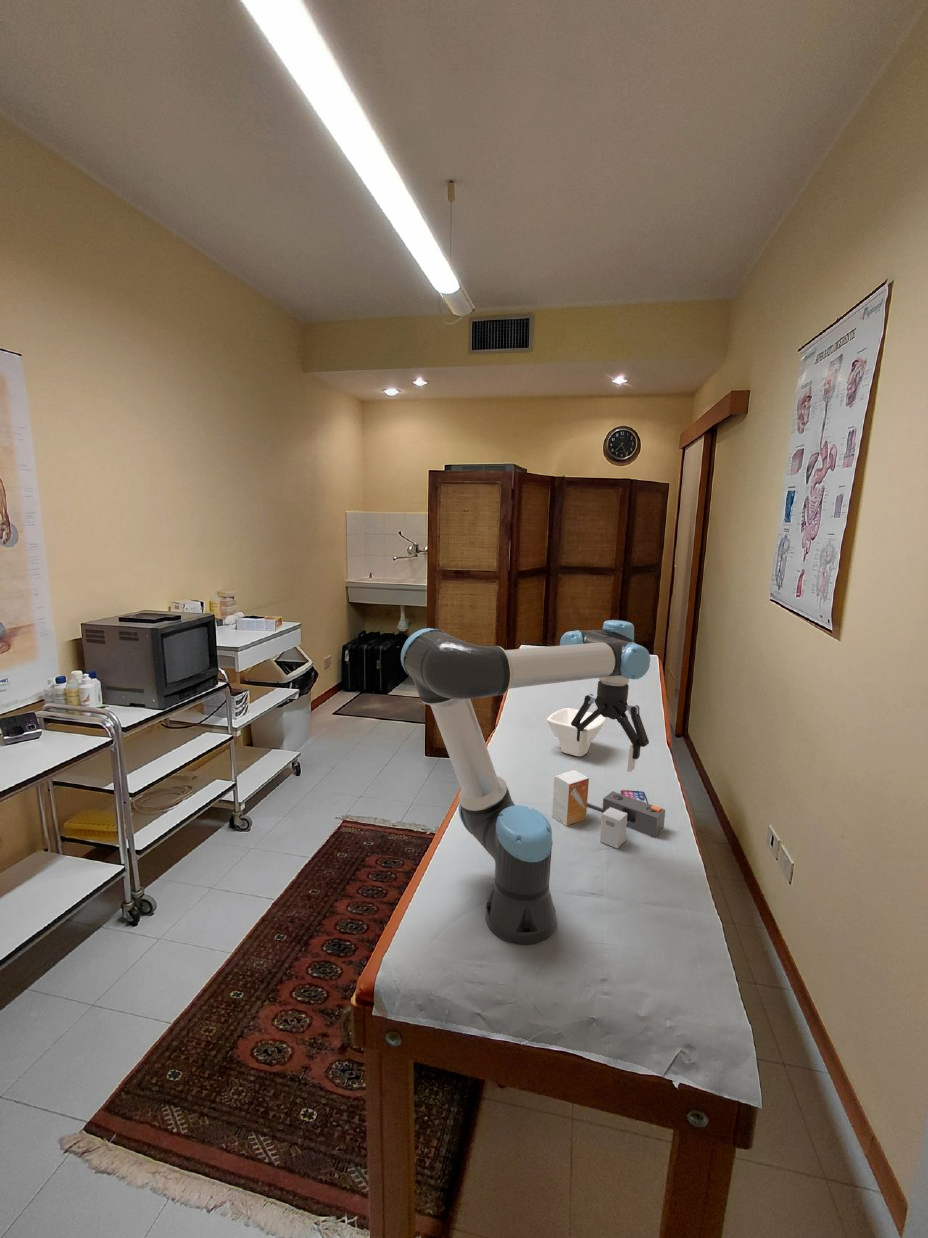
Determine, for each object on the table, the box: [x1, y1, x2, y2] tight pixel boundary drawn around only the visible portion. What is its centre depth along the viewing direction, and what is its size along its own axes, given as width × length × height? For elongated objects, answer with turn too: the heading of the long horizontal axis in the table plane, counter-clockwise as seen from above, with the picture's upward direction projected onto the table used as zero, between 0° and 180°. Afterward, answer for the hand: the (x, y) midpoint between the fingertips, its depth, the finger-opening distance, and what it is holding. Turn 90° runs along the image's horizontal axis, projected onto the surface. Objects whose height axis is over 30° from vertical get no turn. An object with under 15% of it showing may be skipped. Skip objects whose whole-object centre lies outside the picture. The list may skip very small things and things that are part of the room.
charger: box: [599, 807, 627, 849], centre depth 148 cm, size 9×5×8 cm, turn 140°
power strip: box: [587, 790, 666, 839], centre depth 159 cm, size 6×24×7 cm, turn 50°
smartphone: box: [620, 789, 649, 804], centre depth 168 cm, size 8×1×15 cm
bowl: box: [546, 707, 607, 757], centre depth 204 cm, size 19×19×14 cm
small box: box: [551, 769, 590, 827], centre depth 158 cm, size 8×6×13 cm
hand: (605, 761), depth 139 cm, fingers open, 13 cm apart
